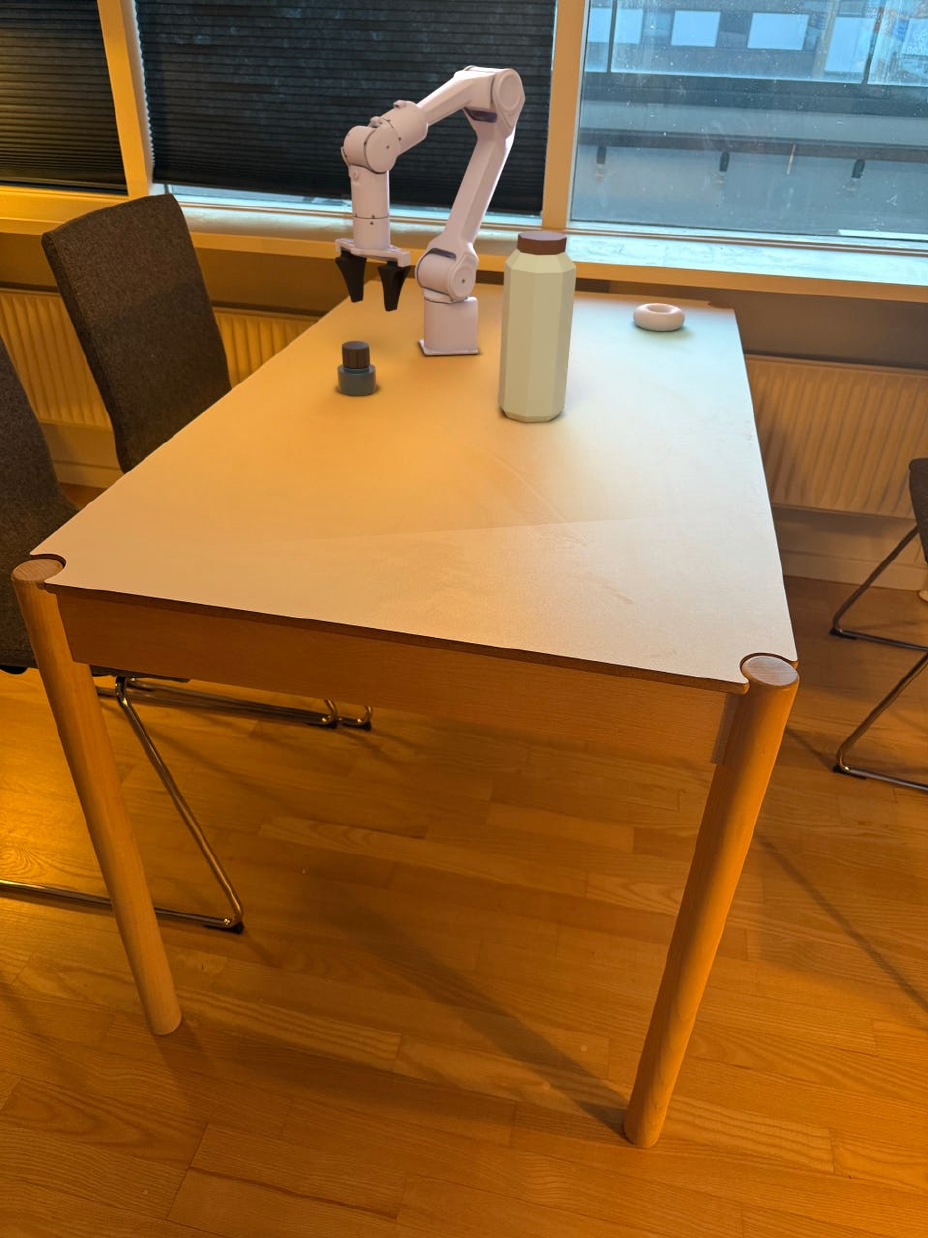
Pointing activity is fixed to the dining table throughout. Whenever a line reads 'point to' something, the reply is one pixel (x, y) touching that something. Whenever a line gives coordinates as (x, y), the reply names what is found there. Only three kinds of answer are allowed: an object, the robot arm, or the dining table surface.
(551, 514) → the dining table surface
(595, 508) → the dining table surface
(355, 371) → the bottle
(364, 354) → the cap
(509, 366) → the water bottle
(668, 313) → the donut
